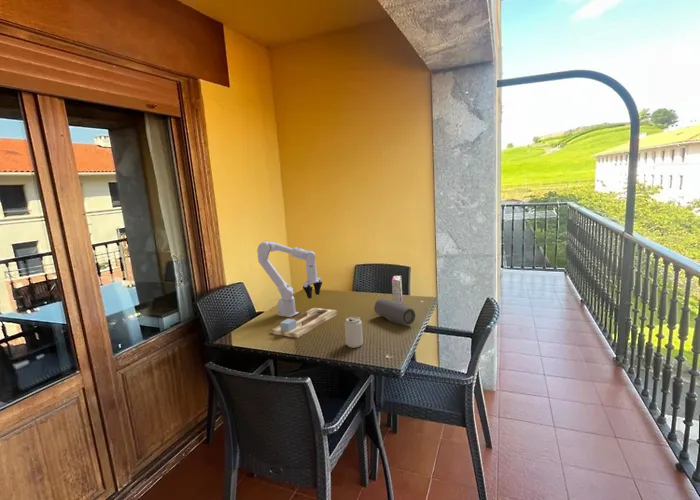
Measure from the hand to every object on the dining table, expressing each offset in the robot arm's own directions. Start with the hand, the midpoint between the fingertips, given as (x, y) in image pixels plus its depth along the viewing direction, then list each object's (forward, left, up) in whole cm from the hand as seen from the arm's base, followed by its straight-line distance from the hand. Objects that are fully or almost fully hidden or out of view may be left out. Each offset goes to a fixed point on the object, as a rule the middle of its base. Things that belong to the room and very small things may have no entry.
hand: (313, 296), depth 204 cm
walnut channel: (+6, -17, -7) cm, 20 cm away
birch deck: (+6, -16, -9) cm, 20 cm away
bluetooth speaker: (+48, +2, -10) cm, 49 cm away
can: (+43, -31, -10) cm, 54 cm away
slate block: (+6, -30, -7) cm, 32 cm away
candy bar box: (+40, +26, -10) cm, 49 cm away
